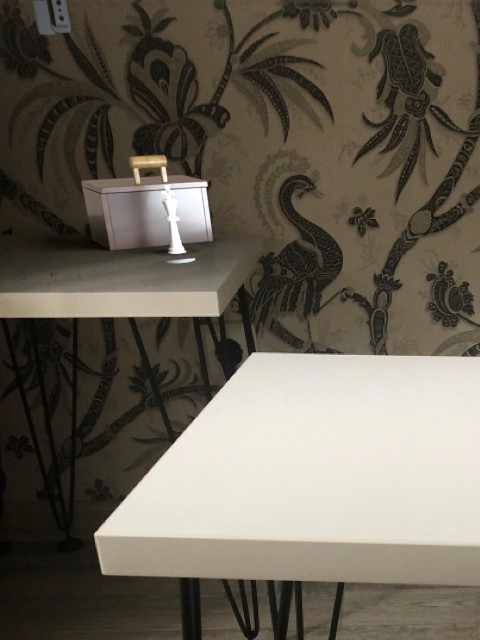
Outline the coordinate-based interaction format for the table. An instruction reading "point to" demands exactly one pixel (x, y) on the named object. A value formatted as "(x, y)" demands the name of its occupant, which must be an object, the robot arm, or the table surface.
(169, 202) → the chess piece
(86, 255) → the table surface
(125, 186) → the chess box lid
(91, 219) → the chess box
